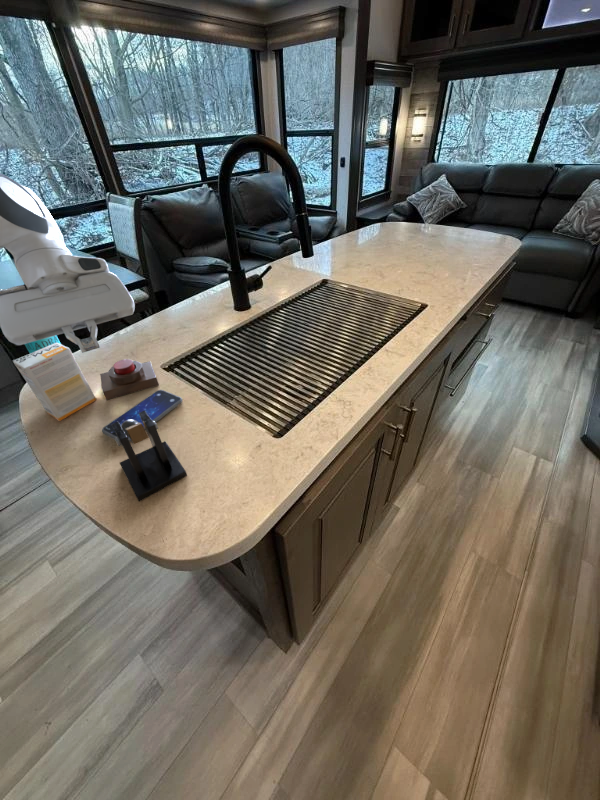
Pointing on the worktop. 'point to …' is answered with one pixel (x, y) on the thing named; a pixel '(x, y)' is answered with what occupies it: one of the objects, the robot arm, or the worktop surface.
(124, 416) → the smartphone
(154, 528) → the worktop surface
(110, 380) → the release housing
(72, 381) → the supplement box
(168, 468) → the latch bracket
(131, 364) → the release button
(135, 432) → the bolt lever
